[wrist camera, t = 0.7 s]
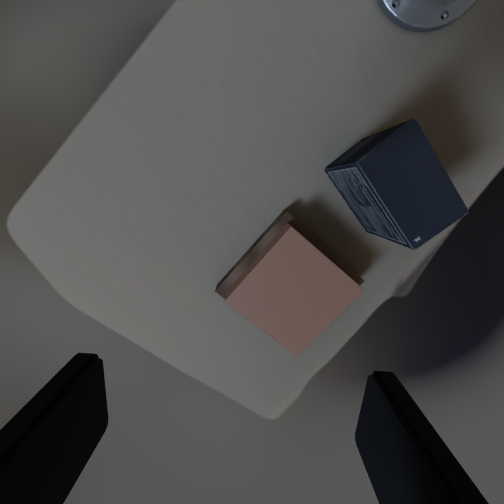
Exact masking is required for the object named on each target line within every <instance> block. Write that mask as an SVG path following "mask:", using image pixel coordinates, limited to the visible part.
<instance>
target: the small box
mask: <svg viewBox="0 0 504 504" xmlns="http://www.w3.org/2000/svg"><path fill="white" fill-rule="evenodd" d="M325 172H326V173H327V174H328V176H329V177H330V179H331V181H332V182H333V183H334V185H335V186H336V188H337V189H338V191H339V192H340V194H341V195H342V197H343V198H344V200H345V201H346V202H347V204H348V205H349V207H350V209H351V210H352V211H353V213H354V214H355V216H356V217H357V219H358V220H359V222H360V223H361V224H362V226H363V227H364V229H365V230H366V232H368V233H371V234H374V235H377V236H380V237H383V238H385V239H388V240H390V241H393V242H395V243H398V244H400V245H403V246H406V247H408V248H411V249H413V250H416V249H417V248H419V247H420V246H422V245H423V244H424V243H426V242H427V241H429V240H430V239H432V238H433V237H435V236H436V235H437V234H439V233H440V232H442V231H443V230H445V229H446V228H447V227H449V226H450V225H452V224H453V223H455V222H456V221H457V220H459V219H460V218H462V217H463V216H464V215H466V214H467V213H468V212H469V211H468V209H467V207H466V206H465V204H464V202H463V200H462V199H461V197H460V195H459V193H458V192H457V190H456V188H455V187H454V185H453V183H452V181H451V180H450V178H449V176H448V175H447V173H446V171H445V169H444V168H443V166H442V164H441V162H440V161H439V159H438V157H437V155H436V154H435V152H434V150H433V148H432V147H431V145H430V143H429V141H428V140H427V138H426V136H425V134H424V133H423V131H422V129H421V127H420V126H419V124H418V122H417V120H416V119H415V118H413V119H410V120H408V121H406V122H403V123H401V124H399V125H396V126H393V127H391V128H389V129H387V130H384V131H381V132H379V133H376V134H374V135H371V136H369V137H366V138H363V139H362V140H361V141H359V142H358V143H357V144H355V145H354V146H353V147H352V148H350V149H349V150H348V151H346V152H345V153H344V154H343V155H341V156H340V157H339V158H337V159H336V160H335V161H334V162H332V163H331V164H330V165H328V166H327V167H326V168H325Z"/></svg>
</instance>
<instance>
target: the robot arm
mask: <svg viewBox="0 0 504 504" xmlns="http://www.w3.org/2000/svg"><path fill="white" fill-rule="evenodd" d="M377 1H378V3H379V5H380V7H381V9H382V10H383V11H384V13H385V14H386V15H387V17H388V18H389V19H390V20H392V21H393V22H394V23H395V24H396V25H398V26H400V27H402V28H404V29H407V30H411V31H415V32H428V31H433V30H437V29H440V28H442V27H444V26H447V25H449V24H450V23H452V22H453V21H455V20H456V19H458V18H459V17H460V16H461V15H463V14H464V13H465V12H466V11H467V10H469V9H470V8H471V6H472V5H473V4H474V3H475V2H476V1H477V0H377ZM107 425H108V411H107V400H106V390H105V380H104V369H103V361H102V359H99V358H98V355H97V354H89V353H78V354H76V355H75V356H74V357H73V358H72V359H71V360H70V361H69V362H68V363H67V364H66V365H65V366H64V367H63V368H62V369H61V370H60V371H59V372H58V373H57V374H56V375H55V376H54V377H53V378H52V379H51V380H50V381H49V382H48V383H47V384H46V385H45V386H44V387H43V388H42V389H41V390H40V391H39V392H38V393H37V394H36V395H35V396H34V397H33V398H32V399H31V400H30V401H29V402H28V403H27V404H26V405H25V406H24V407H23V408H22V409H21V410H20V411H19V412H18V413H17V414H16V415H15V416H14V417H13V418H12V419H11V420H10V421H9V422H8V423H7V424H6V425H5V426H4V427H3V428H2V429H1V430H0V504H63V503H64V501H65V500H66V497H67V496H68V494H69V493H70V491H71V489H72V487H73V486H74V484H75V482H76V481H77V479H78V477H79V475H80V474H81V472H82V470H83V468H84V467H85V465H86V463H87V462H88V460H89V458H90V457H91V455H92V453H93V451H94V450H95V448H96V446H97V444H98V443H99V441H100V439H101V438H102V436H103V434H104V432H105V430H106V428H107ZM355 440H356V445H357V448H358V450H359V453H360V455H361V458H362V460H363V463H364V465H365V468H366V471H367V473H368V476H369V478H370V481H371V483H372V486H373V489H374V491H375V494H376V496H377V499H378V501H379V504H488V502H487V501H486V499H485V498H484V497H483V495H482V494H481V493H480V491H479V490H478V488H477V487H476V486H475V484H474V483H473V482H472V480H471V479H470V477H469V476H468V475H467V473H466V472H465V471H464V469H463V468H462V466H461V465H460V464H459V462H458V461H457V460H456V458H455V457H454V455H453V454H452V453H451V451H450V450H449V449H448V447H447V446H446V445H445V443H444V442H443V440H442V439H441V438H440V436H439V435H438V433H437V432H436V431H435V429H434V428H433V426H432V425H431V424H430V422H429V421H428V420H427V418H426V417H425V416H424V414H423V413H422V411H421V410H420V409H419V407H418V406H417V404H416V403H415V402H414V400H413V399H412V398H411V396H410V395H409V394H408V392H407V391H406V389H405V388H404V387H403V385H402V384H401V382H400V381H399V380H398V378H397V377H396V376H395V374H394V373H392V372H385V371H374V372H373V374H372V375H369V377H368V379H367V384H366V388H365V393H364V397H363V401H362V406H361V410H360V415H359V419H358V424H357V428H356V433H355Z"/></svg>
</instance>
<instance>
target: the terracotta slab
mask: <svg viewBox="0 0 504 504" xmlns="http://www.w3.org/2000/svg"><path fill="white" fill-rule="evenodd" d="M363 291H364V289H363V288H362V287H360V286H359V285H358V284H357V283H356V282H355V281H354V280H353V279H352V278H351V277H349V276H348V275H347V274H346V273H345V272H344V271H343V270H341V269H340V268H339V267H338V266H337V265H336V264H334V263H333V262H332V261H331V260H330V259H329V258H328V257H326V256H325V255H324V254H323V253H322V252H321V251H320V250H318V249H317V248H316V247H315V246H314V245H313V244H311V243H310V242H309V241H308V240H307V239H306V238H305V237H303V236H302V235H301V234H300V233H299V232H298V231H297V230H295V229H294V228H293V227H292V226H291V225H290V224H288V223H287V224H286V225H285V226H284V227H283V228H282V229H281V230H280V232H279V233H278V234H277V235H276V236H275V237H274V238H273V240H272V241H271V242H270V243H269V244H268V245H267V246H266V247H265V249H264V250H263V251H262V252H261V253H260V254H259V255H258V256H257V258H256V259H255V260H254V261H253V262H252V263H251V264H250V265H249V267H248V268H247V269H246V270H245V271H244V272H243V273H242V275H241V276H240V277H239V278H238V279H237V280H236V281H235V282H234V284H233V285H232V286H231V287H230V288H229V289H228V290H227V291H226V296H225V302H226V303H227V304H229V305H230V306H231V307H232V308H234V309H235V310H236V311H238V312H239V313H240V314H242V315H243V316H244V317H246V318H247V319H248V320H250V321H251V322H252V323H254V324H255V325H256V326H258V327H259V328H260V329H262V330H263V331H264V332H266V333H267V334H268V335H269V336H271V337H272V338H273V339H275V340H276V341H277V342H279V343H280V344H281V345H283V346H284V347H285V348H287V349H288V350H289V351H291V352H292V353H293V354H295V355H296V356H298V355H299V354H300V353H301V352H302V351H303V350H304V349H305V348H306V347H307V346H308V345H309V344H310V343H311V342H312V341H313V340H314V339H315V338H316V337H317V336H318V335H319V334H320V333H321V332H322V331H323V330H324V329H325V328H326V327H327V326H328V325H329V324H330V323H331V322H332V321H333V320H334V319H335V318H337V317H338V316H339V315H340V314H341V313H342V312H343V311H344V310H345V309H346V308H347V307H348V306H349V305H350V304H351V303H352V302H353V301H354V300H355V299H356V298H357V297H358V296H359V295H360V294H361V293H362V292H363Z"/></svg>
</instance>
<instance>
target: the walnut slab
mask: <svg viewBox="0 0 504 504" xmlns="http://www.w3.org/2000/svg"><path fill="white" fill-rule="evenodd" d="M287 223H288V224H290V225H291V226H292V227H293V228H294V229H295V230H297V231H298V232H299V233H300V234H301V235H302V236H303V237H305V238H306V239H307V240H308V241H309V242H310V243H311V244H313V245H314V246H315V247H316V248H317V249H318V250H320V251H321V252H322V253H323V254H324V255H325V256H326V257H328V258H329V259H330V260H331V261H332V262H333V263H334V264H336V265H337V266H338V267H339V268H340V269H341V270H343V271H344V272H345V273H346V274H347V275H348V276H349V277H351V278H352V279H353V280H354V281H355V282H356V283H357V284H358V285H359V286H360V285H361V284H362V283H363V282H364V280H363V279H362V278H361V277H360V276H358V275H357V274H356V273H355V272H354V271H353V270H352V269H351V268H350V267H348V266H347V265H346V264H345V263H344V262H343V261H342V260H341V259H340V258H339V257H337V256H336V255H335V254H334V253H333V252H332V251H331V250H330V249H329V248H327V247H326V246H325V245H324V244H323V243H322V242H321V241H320V240H319V239H318V238H316V237H315V236H314V235H313V234H312V233H311V232H310V231H309V230H308V229H306V228H305V227H304V226H303V225H302V224H301V223H300V222H299V221H298V220H297V219H295V218H294V217H293V216H292V215H291V214H290V213H289V212H288V211H286V210H285V209H284V210H283V212H282V213H281V214H280V215H279V216H278V217H277V218H276V219H275V220H274V222H273V223H272V224H271V225H270V226H269V227H268V228H267V229H266V231H265V232H264V233H263V234H262V235H261V236H260V237H259V238H258V239H257V241H256V242H255V243H254V244H253V245H252V246H251V247H250V248H249V250H248V251H247V252H246V253H245V254H244V255H243V256H242V257H241V258H240V260H239V261H238V262H237V263H236V264H235V265H234V266H233V267H232V269H231V270H230V271H229V272H228V273H227V274H226V275H225V276H224V277H223V279H222V280H221V281H220V282H219V283H218V284H217V287H216V290H215V292H217V293H218V294H219V295H221V296H222V297H223V298H224V299H225V296H226V291H227V290H228V289H229V288H230V287H231V286H232V285H233V284H234V282H235V281H236V280H237V279H238V278H239V277H240V276H241V275H242V273H243V272H244V271H245V270H246V269H247V268H248V267H249V265H250V264H251V263H252V262H253V261H254V260H255V259H256V258H257V256H258V255H259V254H260V253H261V252H262V251H263V250H264V249H265V247H266V246H267V245H268V244H269V243H270V242H271V241H272V240H273V238H274V237H275V236H276V235H277V234H278V233H279V232H280V230H281V229H282V228H283V227H284V226H285V225H286V224H287Z"/></svg>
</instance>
